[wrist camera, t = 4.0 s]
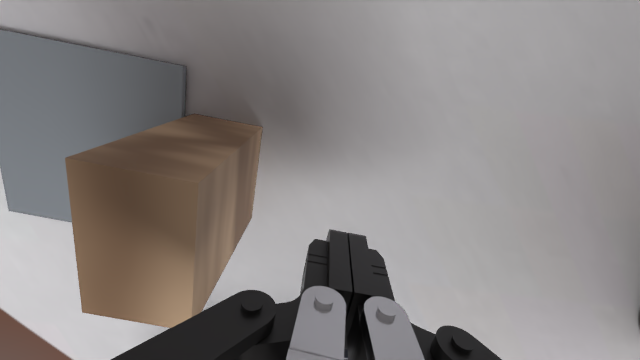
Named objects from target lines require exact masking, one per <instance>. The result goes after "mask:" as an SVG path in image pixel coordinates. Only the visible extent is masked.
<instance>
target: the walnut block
mask: <svg viewBox="0 0 640 360" xmlns="http://www.w3.org/2000/svg"><path fill="white" fill-rule="evenodd" d="M262 128H263V127H259V126H254V125H249V124H244V123H239V122H234V121H229V120H223V119H218V118H213V117H208V116H203V115H198V114H191V115H189V116H186V117H183V118H180V119H177V120H174V121H171V122H168V123H165V124H162V125H159V126H156V127H154V128H151V129H148V130H145V131H142V132H139V133H136V134H133V135H130V136H127V137H124V138H121V139H119V140H116V141H113V142H110V143H107V144H104V145H101V146H98V147H95V148H92V149H89V150H86V151H84V152H81V153H78V154H75V155H72V156H69V157H66V158H65V164H66V173H67V181H68V190H69V199H70V208H71V217H72V226H73V234H74V243H75V252H76V261H77V270H78V279H79V287H80V296H81V305H82V312H83V313H89V314H94V315H100V316H106V317H112V318H117V319H123V320H129V321H134V322H140V323H146V324H152V325H157V326H163V327H169V328H172V327H174V326H176V325H178V324H180V323H182V322H183V321H185V320H187V319H189V318H191V317H193V316H195V315H197V314H199V313H201V311H202V310H203V308H204V306H205V304H206V302H207V300H208V298H209V296H210V295H211V293H212V291H213V289H214V287H215V285H216V283H217V282H218V280H219V278H220V276H221V274H222V272H223V270H224V268H225V267H226V265H227V263H228V261H229V259H230V257H231V255H232V254H233V252H234V250H235V248H236V246H237V244H238V242H239V240H240V239H241V237H242V235H243V233H244V231H245V229H246V227H247V225H248V224H249V222H250V220H251V218H252V210H253V201H254V193H255V185H256V177H257V169H258V161H259V153H260V145H261V136H262Z"/></svg>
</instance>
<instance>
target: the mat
mask: <svg viewBox="0 0 640 360" xmlns="http://www.w3.org/2000/svg"><path fill="white" fill-rule="evenodd" d="M185 87H186V66H182V65H177V64H172V63H167V62H162V61H157V60H152V59H147V58H142V57H137V56H132V55H127V54H122V53H117V52H112V51H107V50H102V49H97V48H92V47H87V46H82V45H77V44H72V43H67V42H62V41H57V40H52V39H47V38H42V37H37V36H32V35H27V34H22V33H17V32H12V31H7V30H2V29H0V168H1V173H2V179H3V184H4V189H5V194H6V199H7V204H8V209H9V211H13V212H18V213H24V214H29V215H34V216H40V217H45V218H51V219H56V220H62V221H67V222H72V217H71V208H70V199H69V190H68V181H67V173H66V164H65V158H66V157H69V156H72V155H75V154H78V153H81V152H84V151H86V150H89V149H92V148H95V147H98V146H101V145H104V144H107V143H110V142H113V141H116V140H119V139H121V138H124V137H127V136H130V135H133V134H136V133H139V132H142V131H145V130H148V129H151V128H154V127H156V126H159V125H162V124H165V123H168V122H171V121H174V120H177V119H180V118H183V117H185Z"/></svg>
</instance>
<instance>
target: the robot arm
mask: <svg viewBox="0 0 640 360" xmlns="http://www.w3.org/2000/svg"><path fill="white" fill-rule="evenodd" d="M344 349H348V359H347V360H501V359H500V358H499V357H498V356H497V355H495V354H494V353H493V352H492V351H490V350H489V349H488V348H487V347H485V346H484V345H483V344H482V343H481V342H479V341H478V340H477V339H476V338H474V337H473V336H472V335H470V334H469V333H468V332H466V331H464V330H462V329H460V328H457V327H454V326H442V327H440V328H439V329H438V330H437V332H436V334H433V333H431V332H429V331H426V330H424V329H422V328H420V327H417V326H415V325H414V324H412V323H410V320H409V318H408V315H407V313H406V312H405V310H404V309H403V308H402V307H401V306H400V305H399V304H398V303H396V302H395V300H394V296H393V292H392V289H391V285H390V281H389V277H388V274H387V270H386V266H385V262H384V259H383V258H382V256H381V255H380V254H379V253H378V252H377V250H372V249H368V245H367V240H366V236H363V235H357V234H352V233H346V232H341V231H336V230H330V229H329V232H328V236H327V240H326V241H323V240H318V239H315V240H314V241H313V242H312V243H311V244H310V245H309V248H308V253H307V258H306V263H305V267H304V272H303V278H302V285H301V292H300V296H299V297H298V298H297V299H295V300H293V301H291V302H287V303H279V304H275V302H274V300H273V299H272V298H271V297H270V296H269V295H268V294H266V293H264V292H261V291H257V290H246V291H242V292H239V293H237V294H235V295H233V296H231V297H229V298H227V299H225V300H223V301H222V302H220V303H218V304H216V305H214V306H212V307H210V308H208V309H206V310H204V311H202V312H201V313H199V314H197V315H195V316H193V317H191V318H189V319H187V320H185V321H183V322H182V323H180V324H178V325H176V326H174V327H172V328H170V329H168V330H166V331H164V332H162V333H161V334H159V335H157V336H155V337H153V338H151V339H149V340H147V341H145V342H143V343H142V344H140V345H138V346H136V347H134V348H132V349H130V350H128V351H126V352H124V353H122V354H121V355H119V356H117V357H115V358H113V359H111V360H344Z"/></svg>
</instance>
